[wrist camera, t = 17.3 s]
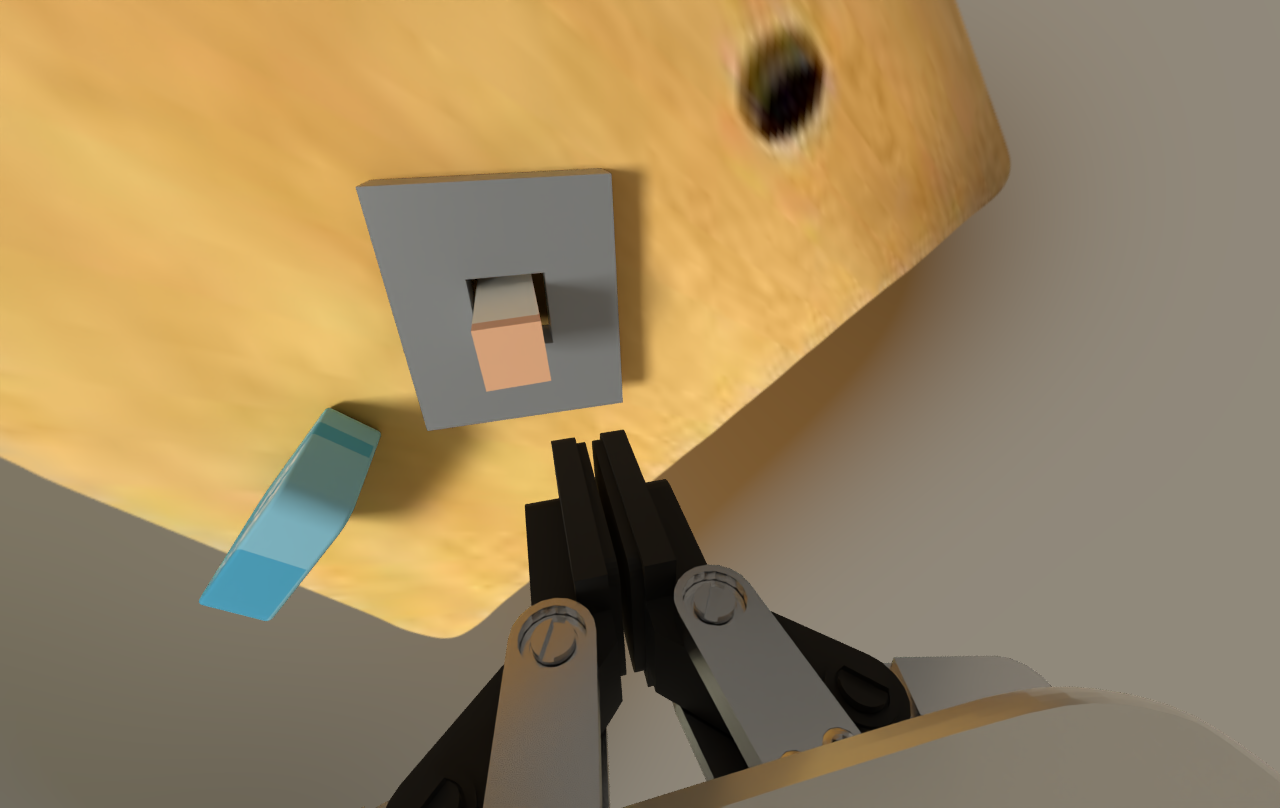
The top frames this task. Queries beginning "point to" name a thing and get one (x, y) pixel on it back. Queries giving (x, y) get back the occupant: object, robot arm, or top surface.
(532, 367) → the plug
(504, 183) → the socket plate
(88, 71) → the top surface
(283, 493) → the data package
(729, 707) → the robot arm
